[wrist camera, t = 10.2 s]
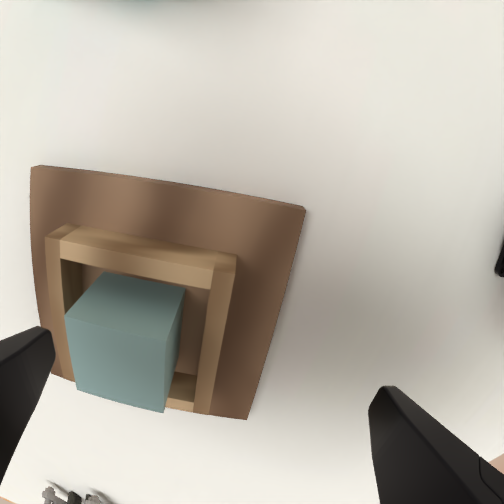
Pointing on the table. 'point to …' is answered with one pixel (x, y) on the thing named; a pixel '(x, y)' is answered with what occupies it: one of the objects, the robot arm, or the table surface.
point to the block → (126, 339)
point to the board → (169, 270)
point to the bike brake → (73, 500)
